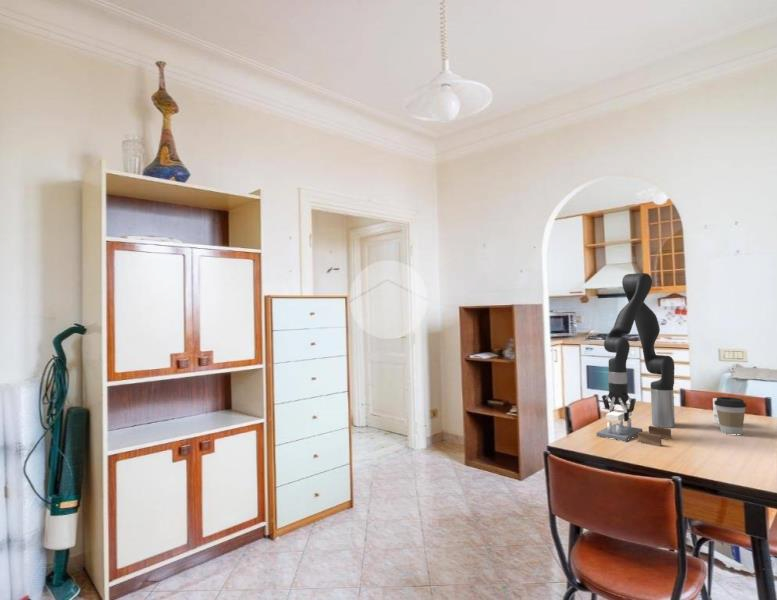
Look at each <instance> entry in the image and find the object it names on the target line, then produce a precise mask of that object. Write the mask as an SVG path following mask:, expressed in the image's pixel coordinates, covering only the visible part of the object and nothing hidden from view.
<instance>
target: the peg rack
mask: <svg viewBox="0 0 777 600" xmlns="http://www.w3.org/2000/svg"><path fill="white" fill-rule="evenodd" d="M626 422H627V423H626V424H627V425H624V419H623V420H621V421H619V422H618V423H613V424H612V422H610V421H607V423H606V424H607V426H606V428H604V429H601V430H600V431H598V432H596V437H599V436H601V437H600V438H604V437H608V438H607V439H609V438H614V439H619V440H618V441H620V440H624V441H623V442H625V441H626V442H628V441H629V440H628V439H630V438H631V439H633V438H635V437H637V436H638V432H643V428H641V427H635V426H632V418H630V417H629V420H628V421H626ZM636 435H637V436H636ZM634 436H635V437H634ZM632 437H633V438H632ZM614 439H613V440H614ZM631 439H630V440H631ZM627 440H628V441H627Z"/></svg>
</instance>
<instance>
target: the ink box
mask: <svg viewBox="0 0 777 600" xmlns="http://www.w3.org/2000/svg"><path fill="white" fill-rule="evenodd" d="M717 398H718V397H716V398H715V397H713V398H712V409H713V410H712V412H713V423H714V422H715V423H714V424H717V423H718V424H717V425H720V424H719V419H718V414H717V408H716V405H715V404H714V403H715V401H716V400H717Z"/></svg>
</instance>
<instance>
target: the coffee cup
mask: <svg viewBox="0 0 777 600" xmlns="http://www.w3.org/2000/svg"><path fill="white" fill-rule="evenodd" d="M716 398H717V400H716V401H715V403H714V404H715V405H716V408H717V414H718V419H719V424H718V425H719V428H720V431H722V432H723V433H722V432H721V433H722V434H724V433H727V434H726V435H728V434H736V435H735V436H738V435H737V434H742V435H743V432H744V431H743V430H744V422H745V412H746V407H747V403H746V402H745V401H744V400H743V399H742V398H739V397H738V398H736V397H729V396H719V397H716Z"/></svg>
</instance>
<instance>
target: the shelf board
mask: <svg viewBox="0 0 777 600" xmlns="http://www.w3.org/2000/svg"><path fill="white" fill-rule="evenodd" d="M624 413H625V412H624V410H623V408H622V407H619V408H617V409H614V411H612V412H610V411H609V412H608V413H606V414H605V420H606V421H612V422H617V423H619V421H621V420H623V421H624ZM632 415H633V411H632V412H629V417H631V416H632Z"/></svg>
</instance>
